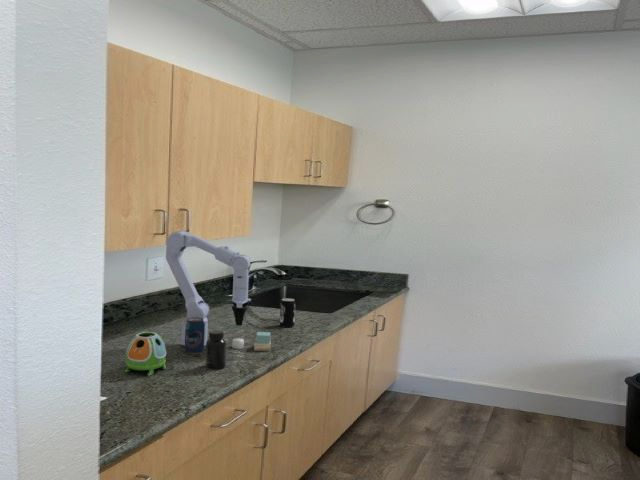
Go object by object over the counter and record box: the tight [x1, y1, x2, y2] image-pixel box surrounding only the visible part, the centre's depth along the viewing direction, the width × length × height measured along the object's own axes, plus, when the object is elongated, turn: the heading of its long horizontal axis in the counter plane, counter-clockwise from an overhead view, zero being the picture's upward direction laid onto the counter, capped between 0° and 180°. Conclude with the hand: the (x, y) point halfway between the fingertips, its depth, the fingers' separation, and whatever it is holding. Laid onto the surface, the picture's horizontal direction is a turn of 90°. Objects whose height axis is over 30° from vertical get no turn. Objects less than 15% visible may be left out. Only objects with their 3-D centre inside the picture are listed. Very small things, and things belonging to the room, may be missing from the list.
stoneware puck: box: [231, 337, 245, 350], centre depth 226 cm, size 4×4×3 cm
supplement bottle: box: [205, 329, 227, 370], centre depth 200 cm, size 7×7×12 cm
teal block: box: [256, 331, 271, 344], centre depth 226 cm, size 5×5×3 cm
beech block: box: [253, 338, 272, 352], centre depth 226 cm, size 6×6×3 cm
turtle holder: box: [125, 331, 167, 377], centre depth 195 cm, size 12×18×12 cm
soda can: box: [184, 318, 205, 355], centre depth 217 cm, size 7×7×12 cm
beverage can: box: [279, 297, 296, 328], centre depth 264 cm, size 7×7×12 cm
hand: (239, 322), depth 225 cm, fingers open, 7 cm apart
